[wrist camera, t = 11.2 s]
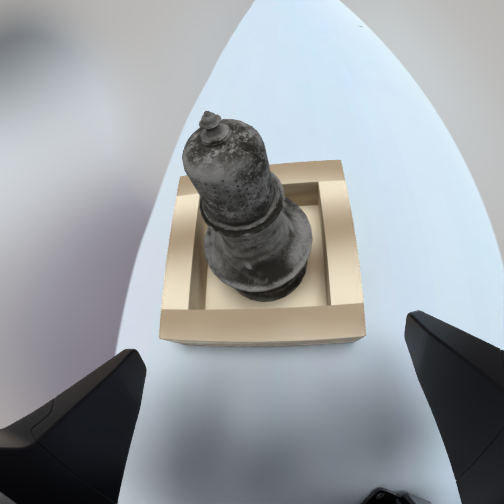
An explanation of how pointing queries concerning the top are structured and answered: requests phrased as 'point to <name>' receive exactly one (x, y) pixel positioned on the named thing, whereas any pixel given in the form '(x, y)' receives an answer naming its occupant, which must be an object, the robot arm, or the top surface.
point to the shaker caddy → (282, 310)
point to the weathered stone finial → (246, 211)
